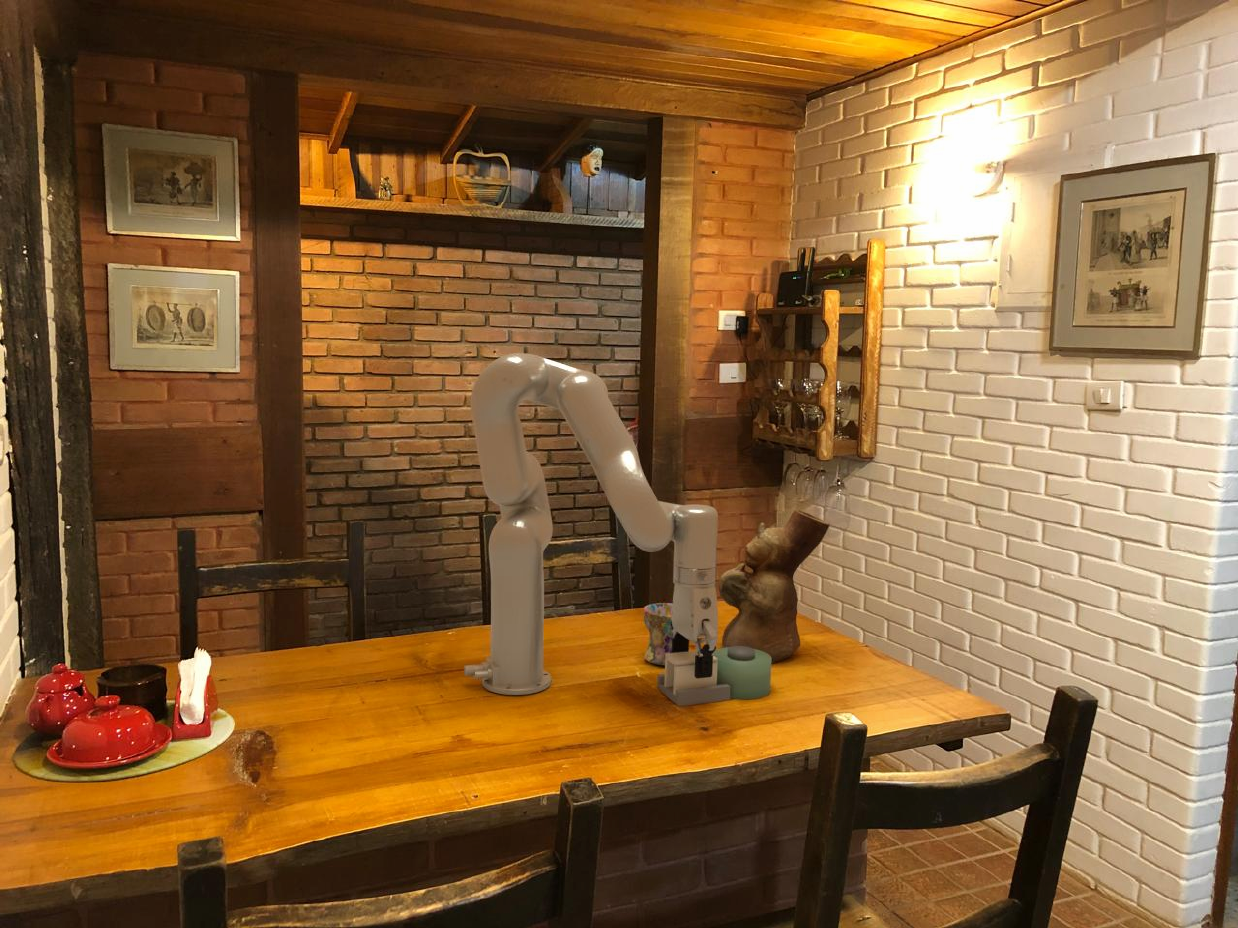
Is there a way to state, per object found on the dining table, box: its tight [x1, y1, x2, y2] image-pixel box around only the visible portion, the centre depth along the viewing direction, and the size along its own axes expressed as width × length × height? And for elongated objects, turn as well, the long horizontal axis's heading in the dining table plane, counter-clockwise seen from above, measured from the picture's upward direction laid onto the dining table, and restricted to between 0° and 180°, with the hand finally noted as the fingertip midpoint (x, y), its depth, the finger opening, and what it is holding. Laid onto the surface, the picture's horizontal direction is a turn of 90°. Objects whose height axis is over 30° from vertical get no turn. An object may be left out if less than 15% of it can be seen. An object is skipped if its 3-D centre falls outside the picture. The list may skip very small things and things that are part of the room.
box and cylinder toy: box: [656, 646, 772, 707], centre depth 166 cm, size 20×11×7 cm, turn 111°
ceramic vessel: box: [718, 509, 830, 664], centre depth 187 cm, size 16×22×30 cm
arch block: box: [664, 650, 718, 696], centre depth 164 cm, size 8×5×6 cm, turn 109°
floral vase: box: [643, 602, 675, 667], centre depth 183 cm, size 12×9×11 cm
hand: (691, 668), depth 164 cm, fingers open, 9 cm apart
